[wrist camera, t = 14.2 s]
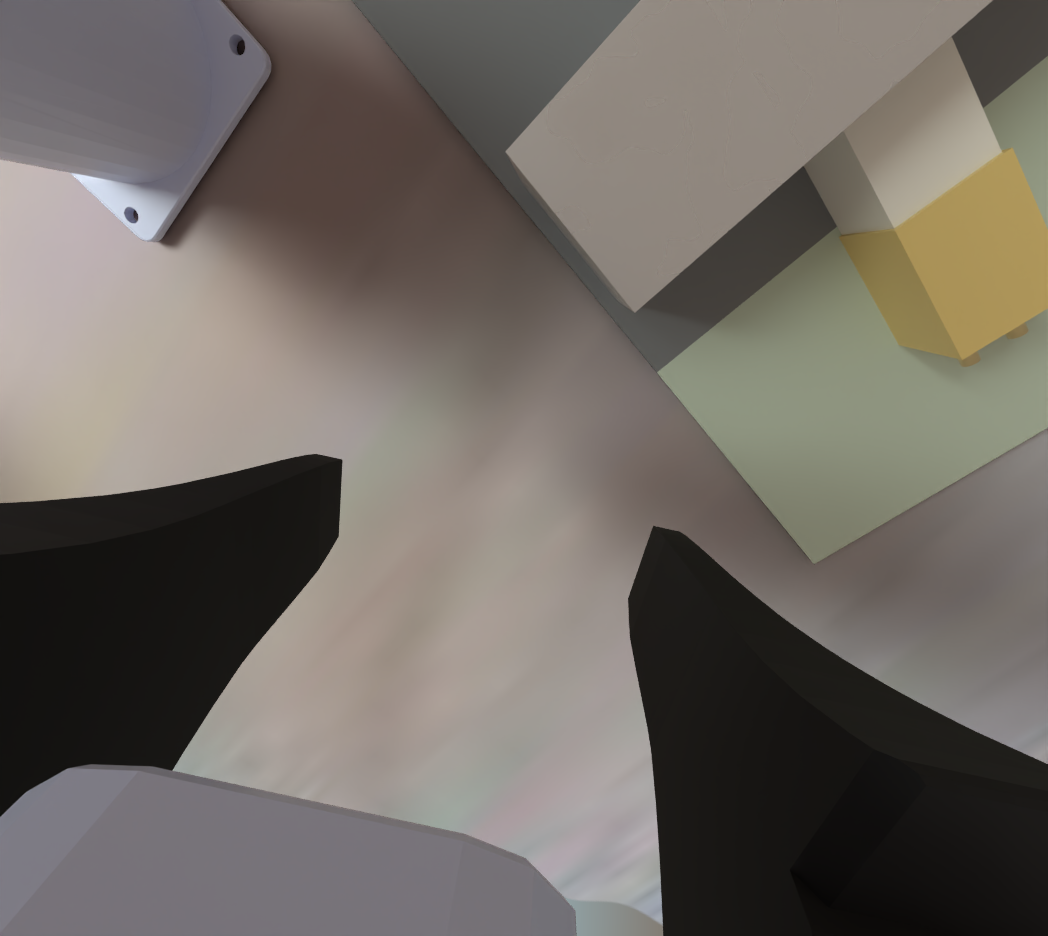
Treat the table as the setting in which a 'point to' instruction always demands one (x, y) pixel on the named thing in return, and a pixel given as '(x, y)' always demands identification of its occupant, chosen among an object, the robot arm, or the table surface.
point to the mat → (772, 279)
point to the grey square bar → (709, 119)
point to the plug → (937, 214)
